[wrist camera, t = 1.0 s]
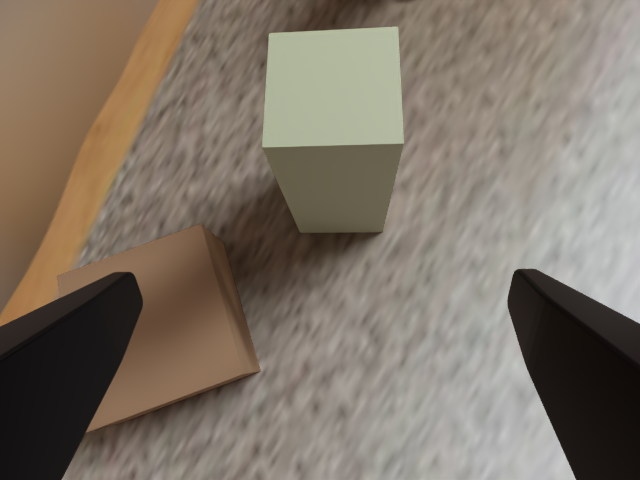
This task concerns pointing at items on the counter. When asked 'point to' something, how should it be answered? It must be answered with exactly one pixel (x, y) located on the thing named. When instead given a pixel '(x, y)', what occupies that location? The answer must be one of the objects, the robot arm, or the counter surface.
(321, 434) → the counter surface
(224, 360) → the walnut slab
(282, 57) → the sage block
